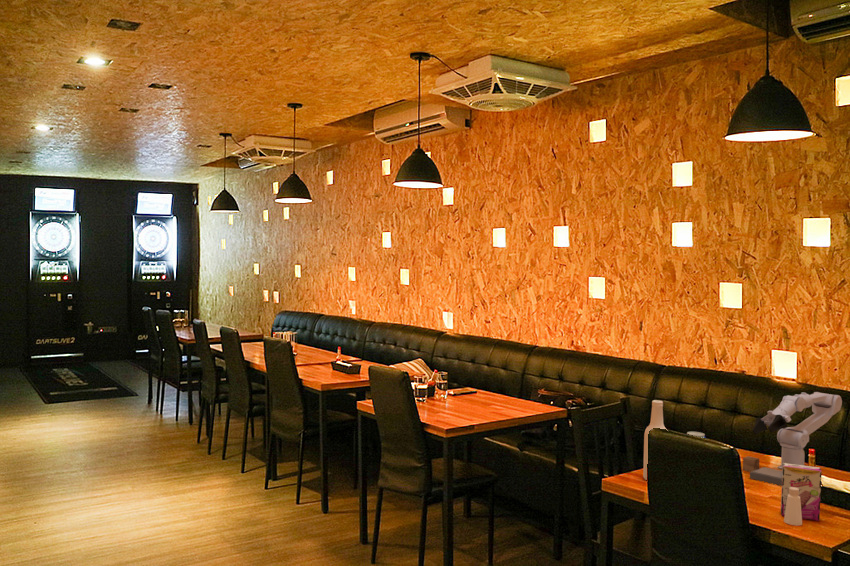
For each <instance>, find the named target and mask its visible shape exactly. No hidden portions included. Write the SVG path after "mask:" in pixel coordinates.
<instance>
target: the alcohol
mask: <svg viewBox="0 0 850 566" xmlns="http://www.w3.org/2000/svg"><path fill="white" fill-rule="evenodd" d="M663 407H664V402H663V400H657V399H654V400H652V401H651V413H650V423H649V424H648V426H646V428H645V431H644V435H643V438H644V439H643V475H642V477H643V479H644V480H645V481H646V480H647V464H648V434H649V431H650V430H651V429H653V428H660V429H666V430H667V431H668V429H667V428H666V427H665V424H664V410H663V409H664V408H663Z"/></svg>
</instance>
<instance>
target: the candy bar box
mask: <svg viewBox="0 0 850 566" xmlns="http://www.w3.org/2000/svg"><path fill="white" fill-rule="evenodd" d="M821 469H822V468H821V467H819V466H818V467H817V466H811V465H810V466H809V465H805V464H804V465H796V464H789V463H783V467H782V469H781V471H782V486H781V493H780V495H781V496H780V515H781V516H783V517H784V516H785V509H786V502H787V496H788V495H789V488H790V487H795V488H798V489H799V494H798V496H800V501H801V514H802V520H810V521H817V522H820V514H821V493H822V492H821V491H822V470H821Z"/></svg>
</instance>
